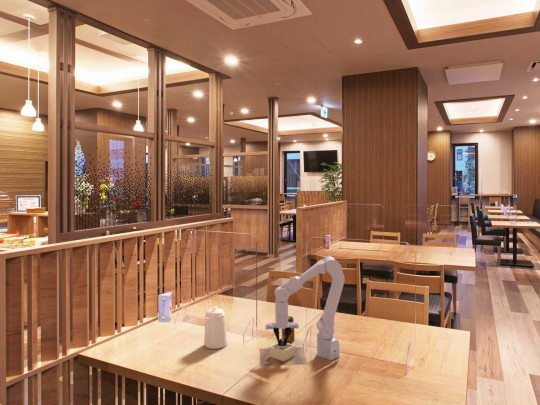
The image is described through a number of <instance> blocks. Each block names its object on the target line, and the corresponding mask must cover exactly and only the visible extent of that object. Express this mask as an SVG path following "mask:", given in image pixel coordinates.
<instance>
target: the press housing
mask: <svg viewBox="0 0 540 405" xmlns="http://www.w3.org/2000/svg"><path fill="white" fill-rule="evenodd" d="M277 344H278V342H276V343H274V344H271V345H269V347H268V348H270V357H273V358H275V359H278V360H281V361H285V360H287V359H289V358H291V357H293V356H295V347H296V345H295V344H293V343H287V348H285V349H283V350H281V349H280V348H278V347H277Z"/></svg>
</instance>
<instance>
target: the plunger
mask: <svg viewBox="0 0 540 405" xmlns="http://www.w3.org/2000/svg"><path fill="white" fill-rule="evenodd" d="M279 341H280V346H278V344H277V347H278V348H280V349H281V350H283V349H285V348H287V345H285V339H282V338H279Z"/></svg>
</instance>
